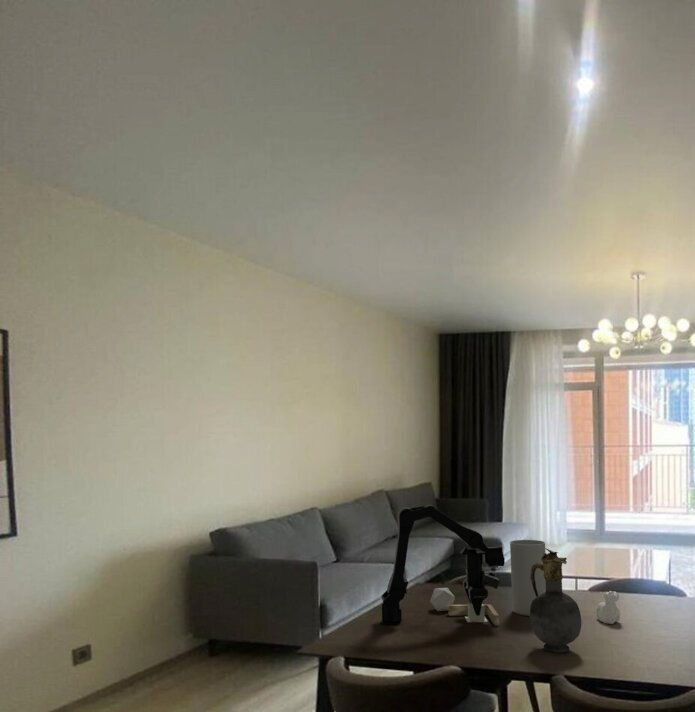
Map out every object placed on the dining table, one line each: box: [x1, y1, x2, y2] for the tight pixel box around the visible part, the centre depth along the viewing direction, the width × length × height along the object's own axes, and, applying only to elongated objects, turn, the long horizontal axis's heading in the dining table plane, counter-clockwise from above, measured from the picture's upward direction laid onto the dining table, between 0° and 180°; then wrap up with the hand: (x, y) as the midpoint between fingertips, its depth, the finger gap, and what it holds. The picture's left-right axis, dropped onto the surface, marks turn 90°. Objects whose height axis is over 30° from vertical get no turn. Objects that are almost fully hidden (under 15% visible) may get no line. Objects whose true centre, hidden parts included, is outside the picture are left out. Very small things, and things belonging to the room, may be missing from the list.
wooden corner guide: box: [447, 603, 500, 627], centre depth 274 cm, size 15×16×4 cm
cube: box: [467, 602, 486, 621], centre depth 274 cm, size 5×5×5 cm
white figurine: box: [595, 590, 621, 625], centre depth 268 cm, size 12×8×11 cm
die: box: [429, 587, 456, 612], centre depth 290 cm, size 8×9×10 cm
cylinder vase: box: [509, 539, 547, 617], centre depth 284 cm, size 12×12×25 cm
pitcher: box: [529, 547, 582, 654], centre depth 240 cm, size 11×19×30 cm, turn 22°
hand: (475, 612), depth 274 cm, fingers open, 9 cm apart
